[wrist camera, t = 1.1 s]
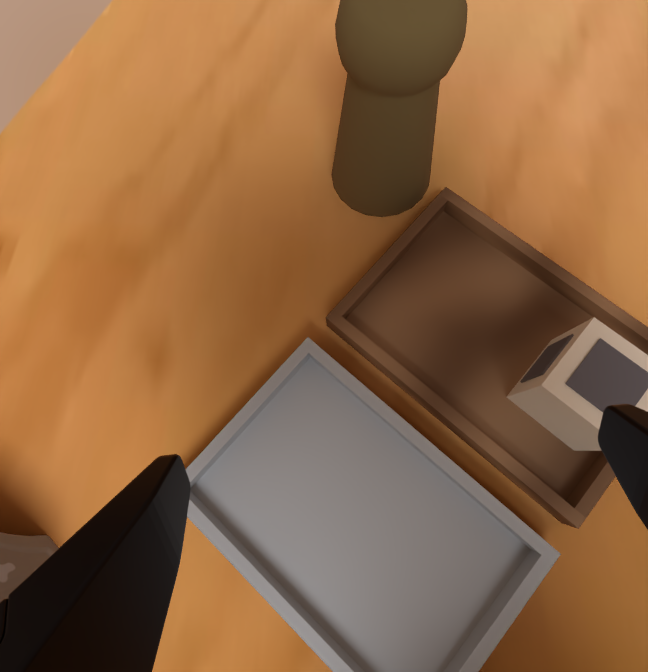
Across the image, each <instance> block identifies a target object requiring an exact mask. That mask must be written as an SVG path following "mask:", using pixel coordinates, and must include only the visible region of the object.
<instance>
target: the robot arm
mask: <svg viewBox="0 0 648 672" xmlns="http://www.w3.org/2000/svg"><path fill="white" fill-rule="evenodd" d="M598 443H599V446H600V448H601V450H602V452H603V454H604V456H605V458H606V459H607V461H608V463H609V465H610V467H611V468H612V470H613V472H614V474H615V476H616V477H617V479H618V481H619V483H620V485H621V486H622V488H623V490H624V492H625V494H626V495H627V497H628V499H629V501H630V503H631V504H632V506H633V508H634V509H635V511H636V513H637V514H638V516H639V517H640V519H641V520H642V522H643V523H644V525H645V526H646V528H647V529H648V412H647V411H645V410H643V409H640V408H638V407H636V406H633V405H631V404H617V405H610V406H607V407H606V408H605V409H604V411H603V415H602V420H601V424H600V428H599V432H598ZM190 492H191V486H190V481H189V478H188V475H187V472H186V470H185V467H184V464H183V462H182V459H181V457H180V456H179V455H177V454H172V455H164V456H159V457H158V458H156V459H155V460H154V461H153V462H152V463H151V464H150V465H149V466H148V467H147V468H145V469H144V470H143V471H142V472H141V473H140V474H139V475H138V476H137V477H136V478H135V479H134V480H132V481H131V482H130V483H129V484H128V485H127V486H126V487H125V488H124V489H123V490H122V491H121V492H119V493H118V494H117V495H116V496H115V497H114V498H113V499H112V500H111V501H110V502H109V503H108V504H106V505H105V506H104V507H103V508H102V509H101V510H100V511H99V512H98V513H97V514H96V515H95V516H93V517H92V518H91V519H90V520H89V521H88V522H87V523H86V524H85V525H84V526H83V527H82V528H80V529H79V530H78V531H77V532H76V533H75V534H74V535H73V536H72V537H71V538H70V539H69V540H67V541H66V542H65V543H64V544H63V545H62V546H61V547H60V548H59V549H58V550H57V551H56V552H54V553H53V554H52V555H51V556H50V557H49V558H48V559H47V560H46V561H45V562H44V563H43V564H41V565H40V566H39V567H38V568H37V569H36V570H35V571H34V572H33V573H32V574H31V575H30V576H28V577H27V578H26V579H25V580H24V581H23V582H22V583H21V584H20V585H19V586H18V587H17V588H15V589H14V590H13V591H12V592H11V593H10V594H9V596H8V599H7V598H5V599H3V600H2V601H1V602H0V672H152V669H153V666H154V662H155V658H156V654H157V650H158V646H159V642H160V639H161V635H162V631H163V627H164V623H165V619H166V615H167V611H168V608H169V604H170V600H171V596H172V592H173V588H174V584H175V581H176V577H177V573H178V568H179V564H180V559H181V553H182V547H183V540H184V533H185V526H186V519H187V513H188V506H189V499H190Z"/></svg>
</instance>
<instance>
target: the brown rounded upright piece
mask: <svg viewBox="0 0 648 672" xmlns="http://www.w3.org/2000/svg"><path fill="white" fill-rule="evenodd" d="M466 23H467V3H466V0H340V5H339V9H338V14H337V19H336V23H335V29H336V41H337V46H338V51H339V55H340V59H341V62H342V65H343V67H344V68H345V70H346V71H347V73H348V74H347V80H346V87H345V93H344V99H343V105H342V112H341V118H340V124H339V131H338V137H337V143H336V150H335V156H334V162H333V169H332V179H333V185H334V188H335V190H336V192H337V193H338V195H339V197H340V198H341V200H342V201H344V202H345V203H346V204H347V205H348V206H349V207H351V208H352V209H354V210H356V211H358V212H361V213H363V214H365V215H371V216H379V217H384V216H391V215H397V214H400V213H402V212H404V211H406V210H408V209H410V208H412V207H413V206H414V205H415V204H416V203H417V202H418V201H419V200H421V199H422V197H423V196H424V194H425V192H426V190H427V188H428V186H429V179H430V171H431V161H432V152H433V142H434V133H435V123H436V113H437V104H438V94H439V85H440V80H441V79H442V78H443V77H444V76H445V75H446V74H447V73H448V71H449V69H450V68H451V66H452V64H453V63H454V61H455V59H456V57H457V55H458V53H459V52H460V50H461V47H462V44H463V41H464V37H465V32H466Z"/></svg>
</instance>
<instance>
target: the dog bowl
mask: <svg viewBox="0 0 648 672" xmlns="http://www.w3.org/2000/svg"><path fill="white" fill-rule="evenodd" d="M58 549H59V548H58V547H57V546H56V544H55V543H54V542H53V541H52V540H51V538H50V537H49V536H47V535H37V536H24V535H13V534H7V533H2V532H0V602H1V601H2V600H3V599H5V598H7V599H8V596H9V594H10V593H11V592H12V591H13V590H14V589H15V588H17V587H18V586H19V585H20V584H21V583H22V582H23V581H24V580H25V579H26V578H27V577H28V576H30V575H31V574H32V573H33V572H34V571H35V570H36V569H37V568H38V567H39V566H40V565H41V564H43V563H44V562H45V561H46V560H47V559H48V558H49V557H50V556H51V555H52V554H53V553H54V552H56V551H57V550H58Z"/></svg>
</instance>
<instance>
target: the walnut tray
mask: <svg viewBox="0 0 648 672" xmlns="http://www.w3.org/2000/svg"><path fill="white" fill-rule="evenodd" d="M593 317H595V318H596V319H598V320H599V321H600V322H602V323H603V324H605V325H606V326H607V327H609V328H610V329H612V330H613V331H614V332H616V333H617V334H619V335H620V336H622V337H623V338H624V339H626V340H627V341H629V342H630V343H631V344H633V345H634V346H636V347H637V348H638V349H640V350H641V351H643V352H644V353H645V354H647V355H648V327H647V326H645V325H644V324H642V323H641V322H639V321H638V320H637V319H635V318H634V317H632V316H631V315H629V314H628V313H627V312H625V311H624V310H622V309H621V308H619V307H618V306H616V305H615V304H614V303H612V302H611V301H609V300H608V299H606V298H605V297H603V296H602V295H601V294H599V293H598V292H596V291H595V290H593V289H592V288H591V287H589V286H588V285H586V284H585V283H583V282H582V281H580V280H579V279H578V278H576V277H575V276H573V275H572V274H570V273H569V272H568V271H566V270H565V269H563V268H562V267H560V266H559V265H557V264H556V263H555V262H553V261H552V260H550V259H549V258H547V257H546V256H544V255H543V254H542V253H540V252H539V251H537V250H536V249H534V248H533V247H532V246H530V245H529V244H527V243H526V242H524V241H523V240H521V239H520V238H519V237H517V236H516V235H514V234H513V233H511V232H510V231H508V230H507V229H506V228H504V227H503V226H501V225H500V224H498V223H497V222H496V221H494V220H493V219H491V218H490V217H488V216H487V215H485V214H484V213H483V212H481V211H480V210H478V209H477V208H475V207H474V206H473V205H471V204H470V203H468V202H467V201H465V200H464V199H462V198H461V197H460V196H458V195H457V194H455V193H454V192H452V191H451V190H449V189H448V188H447V187H445V188H444V190H443V191H442V192H441V193H440V194H439V195H438V196H437V197H436V198H435V199H434V200H433V202H432V203H431V204H430V205H429V206H428V207H427V208H426V209H425V210H424V211H423V212H422V213H421V215H420V216H419V217H418V218H417V219H416V220H415V221H414V222H413V223H412V224H411V225H410V226H409V228H408V229H407V230H406V231H405V232H404V233H403V234H402V235H401V236H400V237H399V238H398V239H397V241H396V242H395V243H394V244H393V245H392V246H391V247H390V248H389V249H388V250H387V251H386V253H385V254H384V255H383V256H382V257H381V258H380V259H379V260H378V261H377V262H376V263H375V264H374V266H373V267H372V268H371V269H370V270H369V271H368V272H367V273H366V274H365V275H364V276H363V277H362V279H361V280H360V281H359V282H358V283H357V284H356V285H355V286H354V287H353V288H352V289H351V291H350V292H349V293H348V294H347V295H346V296H345V297H344V298H343V299H342V300H341V301H340V302H339V304H338V305H337V306H336V307H335V308H334V309H333V310H332V311H331V312H330V313H329V314H328V315H327V317H326V323H327V326H328V327H329V328H330V329H332V330H333V331H334V332H335V333H336V334H337V335H339V336H340V337H341V338H342V339H343V340H345V341H346V342H347V343H348V344H349V345H351V346H352V347H353V348H354V349H355V350H357V351H358V352H359V353H360V354H361V355H362V356H364V357H365V358H366V359H367V360H368V361H370V362H371V363H372V364H373V365H374V366H376V367H377V368H378V369H379V370H380V371H381V372H383V373H384V374H385V375H386V376H387V377H389V378H390V379H391V380H392V381H393V382H395V383H396V384H397V385H398V386H399V387H401V388H402V389H403V390H404V391H405V392H406V393H408V394H409V395H410V396H411V397H412V398H414V399H415V400H416V401H417V402H418V403H420V404H421V405H422V406H423V407H424V408H426V409H427V410H428V411H429V412H430V413H431V414H433V415H434V416H435V417H436V418H437V419H439V420H440V421H441V422H442V423H443V424H445V425H446V426H447V427H448V428H449V429H451V430H452V431H453V432H454V433H455V434H456V435H458V436H459V437H460V438H461V439H462V440H464V441H465V442H466V443H467V444H468V445H470V446H471V447H472V448H473V449H474V450H476V451H477V452H478V453H479V454H480V455H481V456H483V457H484V458H485V459H486V460H487V461H489V462H490V463H491V464H492V465H493V466H495V467H496V468H497V469H498V470H499V471H501V472H502V473H503V474H504V475H505V476H506V477H508V478H509V479H510V480H511V481H512V482H514V483H515V484H516V485H517V486H518V487H520V488H521V489H522V490H523V491H524V492H525V493H527V494H528V495H529V496H530V497H531V498H533V499H534V500H535V501H536V502H537V503H539V504H540V505H541V506H542V507H543V508H545V509H546V510H547V511H548V512H549V513H550V514H552V515H553V516H554V517H555V518H556V519H558V520H559V521H560V522H561V523H563V524H566V525H569V526H572V527H575V528H578V529H579V527H580V526H581V525H582V523H583V522H584V520H585V519H586V517H587V516H588V515H589V513H590V512H591V510H592V509H593V507H594V506H595V505H596V503H597V502H598V500H599V499H600V497H601V496H602V495H603V493H604V492H605V490H606V489H607V488H608V486H609V485H610V483H611V482H612V480H613V479H614V478H615V474H614V472H613V470H612V468H611V467H610V465H609V463H608V461H607V459H606V458H605V456H604V454H603V452H602V451H574V450H572V449H571V448H570V447H569V446H567V445H566V444H565V443H564V442H562V441H561V440H560V439H559V438H557V437H556V436H555V435H554V434H552V433H551V432H550V431H548V430H547V429H546V428H545V427H543V426H542V425H541V424H540V423H538V422H537V421H536V420H535V419H533V418H532V417H531V416H530V415H528V414H527V413H526V412H525V411H523V410H522V409H521V408H519V407H518V406H517V405H516V404H514V403H513V402H512V401H511V400H509V399H508V398H507V395H508V394H509V393H510V392H511V390H512V389H513V388H514V387H515V385H516V384H517V383H518V381H519V380H520V379H521V378H522V376H523V375H524V374H525V373H526V371H527V370H528V369H529V368H530V366H531V365H532V364H533V362H534V361H535V360H536V359H537V357H538V356H539V355H540V354H541V352H542V351H543V350H544V348H545V347H546V346H547V345H548V343H549V342H550V341H551V340H552V339H554V338H556V337H558V336H560V335H562V334H563V333H565V332H567V331H569V330H571V329H573V328H575V327H577V326H578V325H580V324H582V323H584V322H586V321H588V320H590V319H591V318H593Z"/></svg>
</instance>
